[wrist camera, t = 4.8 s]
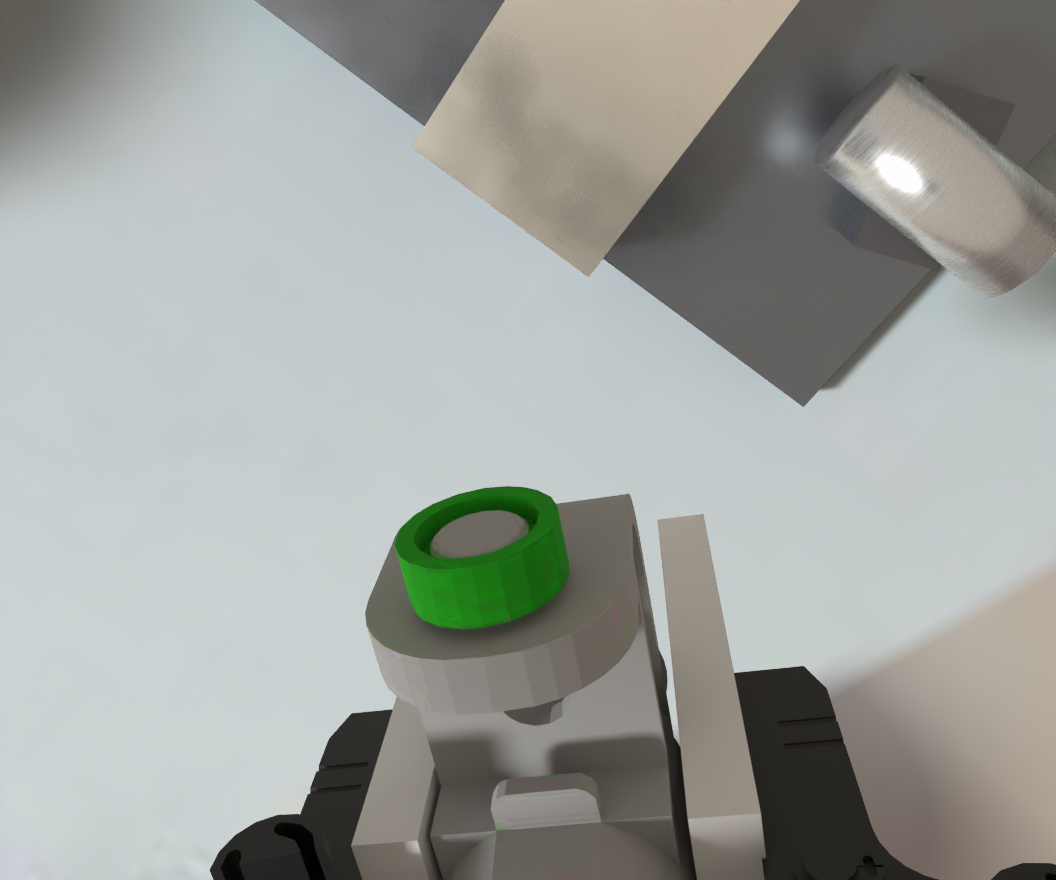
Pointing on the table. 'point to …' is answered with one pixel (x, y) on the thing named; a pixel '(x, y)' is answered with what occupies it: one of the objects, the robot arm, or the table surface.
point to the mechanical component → (535, 687)
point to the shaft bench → (736, 146)
